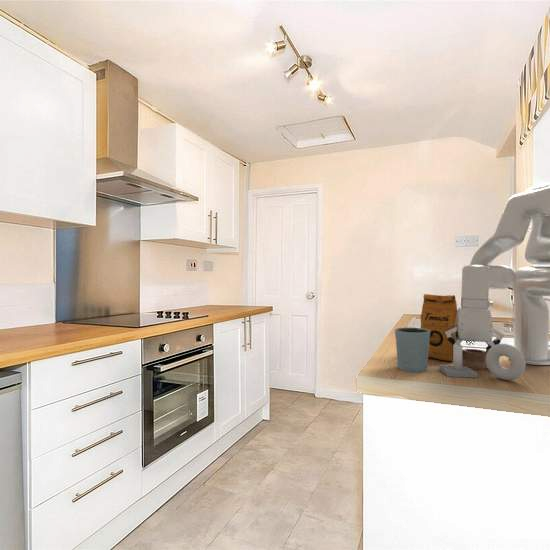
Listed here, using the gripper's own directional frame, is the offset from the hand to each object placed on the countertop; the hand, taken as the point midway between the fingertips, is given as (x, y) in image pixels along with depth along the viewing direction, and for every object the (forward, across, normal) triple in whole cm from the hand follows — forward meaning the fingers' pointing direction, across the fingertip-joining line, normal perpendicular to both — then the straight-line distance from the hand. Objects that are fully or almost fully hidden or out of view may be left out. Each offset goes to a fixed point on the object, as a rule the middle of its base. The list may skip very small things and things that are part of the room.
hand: (472, 359), depth 120 cm
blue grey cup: (+3, +19, +5) cm, 20 cm away
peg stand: (+3, +7, +9) cm, 12 cm away
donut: (+3, -3, +14) cm, 15 cm away
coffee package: (+3, +6, -11) cm, 13 cm away
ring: (+2, -1, 0) cm, 3 cm away
